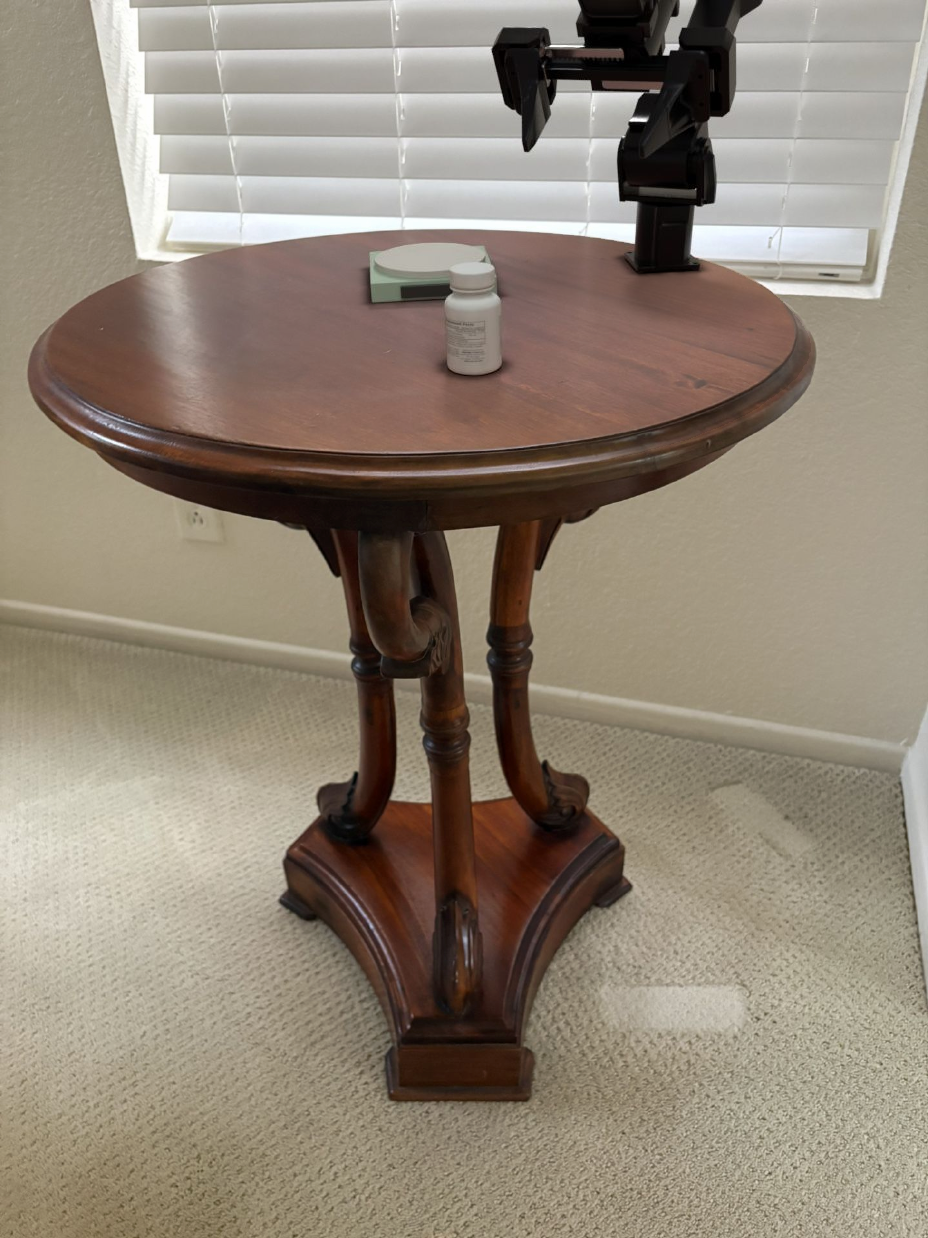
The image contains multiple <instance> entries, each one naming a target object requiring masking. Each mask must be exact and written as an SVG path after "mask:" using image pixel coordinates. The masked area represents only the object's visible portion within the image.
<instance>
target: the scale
mask: <svg viewBox="0 0 928 1238" xmlns="http://www.w3.org/2000/svg"><path fill="white" fill-rule="evenodd" d="M468 262H481V263H487V264H491V265H493V264H492V261H491V259H490V257H489V255H488V252H487V250H486V247H485V245H469V244H464V243H463V244H462V243H454V242H422V243H419V242H418V243H412V244H405V245H399V246H395V247H392V248H388V249H386V250H379V251H377V250H376V251H369V281H370V282H369V283H370V294H371V295H370V296H371V303H388V302H389V303H390V302H408V301H410V302H411V301H425V300H444V299H445V300H446V298H447V297H448V296H449V295H451V294H452V293H453V290H451V289H450V268H451V267H452V266H454V265H456V264H461V263H468ZM494 285H495V286H494V288H492V292H493V293H495V294H496V295H497V296H498V276H497V274H496V273H495V283H494Z"/></svg>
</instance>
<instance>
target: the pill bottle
mask: <svg viewBox="0 0 928 1238" xmlns="http://www.w3.org/2000/svg"><path fill="white" fill-rule="evenodd" d="M491 264H492V263H491ZM491 264H487V263H481V262H468V263H461V264H456V265H454V266H452V267H451V268H450V289H451V290H453V293H452V294H451V295H449V296H448V297H447V298H445V300H444V326H445V327H444V328H445V329H444V330H445V347H446V350H445V351H446V365H447V367H448V369H449V370H450V371H451V372H453V373H456V374H459V375H466V376H481V375H486V374H489V373H493V372H495V371H497V370H498V369H500V368H501V366H502V363H503V355H502V354H503V352H502V351H503V347H502V345H503V343H502V341H503V340H502V301H501V298H500V297H499V295H498V294H497V295H496V294H495V293H493V292H492V288H494V286H495V285H494V283H495V274H496V269H495V266H494V265H493V264H492V265H491Z"/></svg>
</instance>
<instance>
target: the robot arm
mask: <svg viewBox="0 0 928 1238" xmlns="http://www.w3.org/2000/svg"><path fill="white" fill-rule="evenodd" d="M577 2H578V5H579V8H580V11H579V14H578V16H577V19H576V21H575V28H576V34H577V38H583V40H584V43H583V45H552V41H551V35H550V30H549V29H548V28H546V27H545V26H502V28H501V29H500V31H499V32H498V34H497V35H496V38H495V40H494V42H493V44H492V47H491V49H490V50H491V54H492V60H493V63H494V67H495V72H496V75H497V79H498V84H499V87H500V88H499V89H500V93H501V95H502V100H503V104H504V106H506V107H507V108H509V109H510V110H511V111H515V113H516V114H517V115H518V116H521V144H522V148H523V152H524V153H530V152H531V151H532V149H533V148H534V147H535V146H536V144H537V142H538V141H539V139H540V138H541V137H540V136H541V135H542V133H543V131H544V129H545V127H546V125H547V123H548V122H549V120H550V117H551V116H552V111H551V106H552V105H553V104H554V101H555V99H556V96H557V89H558V88H557V86H558V81H590V89H591V92H612V93H613V92H615V93H616V92H617V93H619V92H620V93H642V94H641V95H640V96H639V97H638V98H637V101H636V105H635V108H634V111H633V114H632V116H631V118H630V119H629V120H628V121H627V126H628V127H627V129H626V132H625V134H623V135H622V136H621V137H620V140H619V142H618V147H617V154H616V169H617V187H618V188H617V189H618V200H619V203H620V202H621V203H625V202H634V203H636V219H635V234H634V247H633V248H634V249H633V250H631V251H630V250H628V251H624V258H625V259H626V260H627V261H628V262H629V264H630V265H631V266H632V267H633V269H635V271H636V272H640V273H641V272H644V273H645V272H660V271H678V270H679V271H680V270H696V269H700V268H701V262H700V261H699V260H698V259H697V258H695V256H694V255H693V254H692V253H691V251H692V241H693V230H694V229H693V228H694V218H695V207H697V208H702V207H703V206H705V205H713V204H715V203H716V199H717V198H716V196H717V183H718V177H717V175H718V174H717V167H716V155H715V154H714V150H713V143H712V140H711V138H710V137H709V123H708V121H709V120H710V119H711V118H724V117H725V116H726V115H727V114H729V113H730V112H731V110H732V106H733V102H734V100H735V96H736V90H737V89H736V88H737V38H736V36H735V33H736V30H737V28H738V25H739V22H740V20H741V19H743V17H745V16H747V15H749V14H750V13H751V12H753V11H754V10H756V9H757V8H759V7H760V6H761V5H762V4H763V2H764V0H695V4H694V7H693V10H692V11H691V14H690V17H689V20H688V23H687V25H686V27H681V29H680V31H679V35H678V49H671V50H669V54H668V55H667V54H666V55H665V54H664V53H665V50H666V31H667V28H668V26H669V23H670V21H671V18H678V16H679V15H680V6H681V2H680V0H577ZM651 91H659V92H651Z"/></svg>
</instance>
